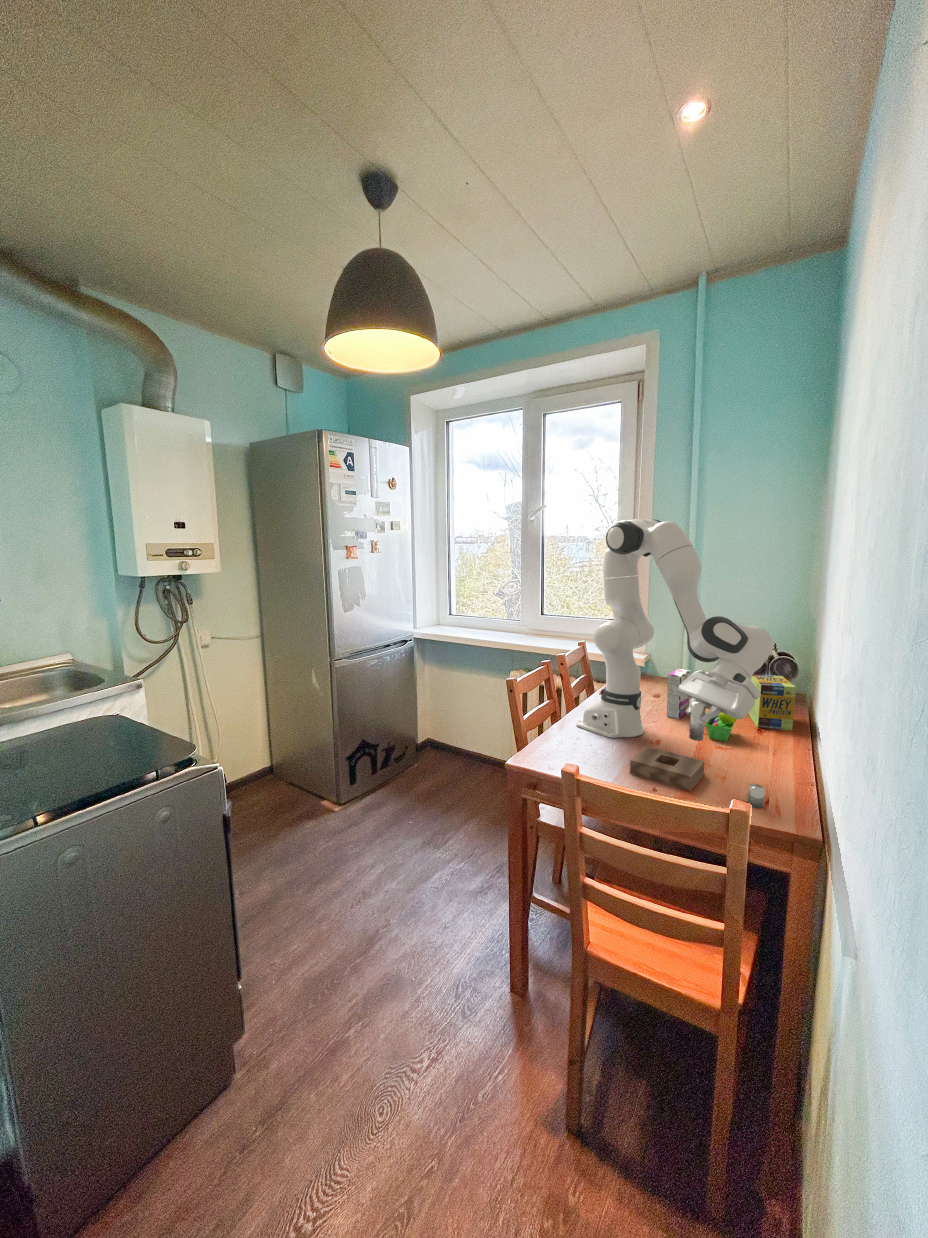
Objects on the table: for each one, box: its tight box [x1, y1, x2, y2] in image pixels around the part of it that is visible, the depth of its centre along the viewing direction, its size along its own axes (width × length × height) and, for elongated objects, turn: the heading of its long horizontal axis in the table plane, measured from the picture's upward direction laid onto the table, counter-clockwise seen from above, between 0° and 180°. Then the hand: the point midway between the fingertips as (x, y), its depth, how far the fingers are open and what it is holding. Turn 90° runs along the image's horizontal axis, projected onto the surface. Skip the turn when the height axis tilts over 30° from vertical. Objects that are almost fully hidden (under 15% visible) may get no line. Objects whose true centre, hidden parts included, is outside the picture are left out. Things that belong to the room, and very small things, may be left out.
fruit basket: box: [704, 713, 738, 742], centre depth 158 cm, size 11×9×11 cm
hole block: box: [629, 745, 705, 792], centre depth 132 cm, size 16×12×4 cm
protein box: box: [747, 673, 797, 731], centre depth 170 cm, size 10×15×16 cm
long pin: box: [688, 700, 707, 742], centre depth 127 cm, size 3×3×10 cm
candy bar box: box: [666, 668, 691, 720], centre depth 179 cm, size 11×5×16 cm, turn 138°
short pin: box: [747, 783, 766, 810], centre depth 116 cm, size 3×3×4 cm
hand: (695, 717), depth 127 cm, fingers closed on long pin, 3 cm apart
